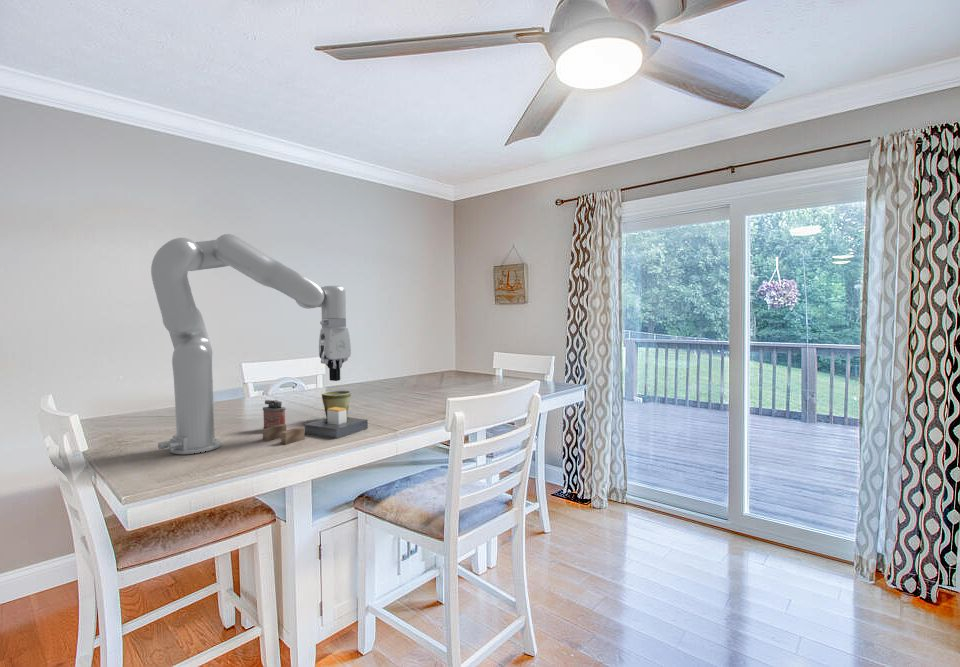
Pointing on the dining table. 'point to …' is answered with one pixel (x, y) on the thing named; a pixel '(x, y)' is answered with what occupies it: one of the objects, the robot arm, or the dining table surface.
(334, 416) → the white orange-topped block
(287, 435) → the holster
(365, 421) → the port block
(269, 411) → the lighter
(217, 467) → the dining table surface
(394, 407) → the dining table surface
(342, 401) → the green plant pot
